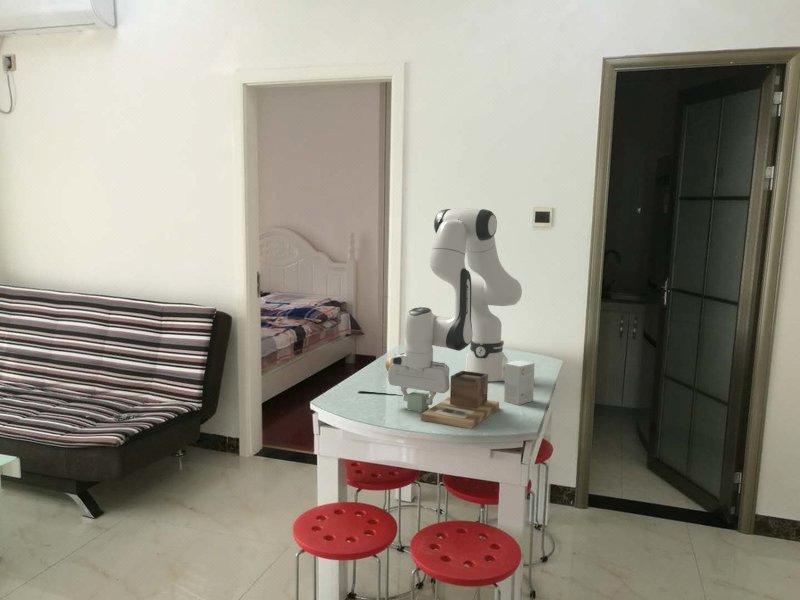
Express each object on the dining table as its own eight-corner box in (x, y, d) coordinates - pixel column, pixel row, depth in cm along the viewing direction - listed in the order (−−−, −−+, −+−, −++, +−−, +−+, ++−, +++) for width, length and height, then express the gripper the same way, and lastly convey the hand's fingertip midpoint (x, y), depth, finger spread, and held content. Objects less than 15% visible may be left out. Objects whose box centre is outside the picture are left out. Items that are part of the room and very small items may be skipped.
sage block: (414, 406, 205) (414, 390, 205) (428, 408, 203) (428, 393, 202) (407, 410, 201) (407, 394, 200) (421, 412, 199) (421, 396, 198)
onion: (408, 374, 247) (408, 356, 246) (389, 376, 245) (389, 357, 244) (401, 370, 255) (401, 352, 254) (382, 371, 252) (382, 353, 251)
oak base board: (452, 400, 211) (453, 368, 210) (499, 408, 204) (500, 374, 203) (421, 420, 190) (421, 384, 189) (471, 428, 183) (472, 391, 182)
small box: (518, 397, 217) (519, 359, 216) (533, 401, 213) (535, 362, 211) (503, 401, 212) (504, 363, 210) (519, 405, 207) (520, 366, 206)
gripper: (453, 361, 198) (452, 405, 200) (395, 354, 207) (394, 395, 209) (445, 365, 192) (444, 410, 194) (385, 357, 202) (385, 400, 204)
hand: (418, 402), depth 202 cm, fingers open, 6 cm apart
